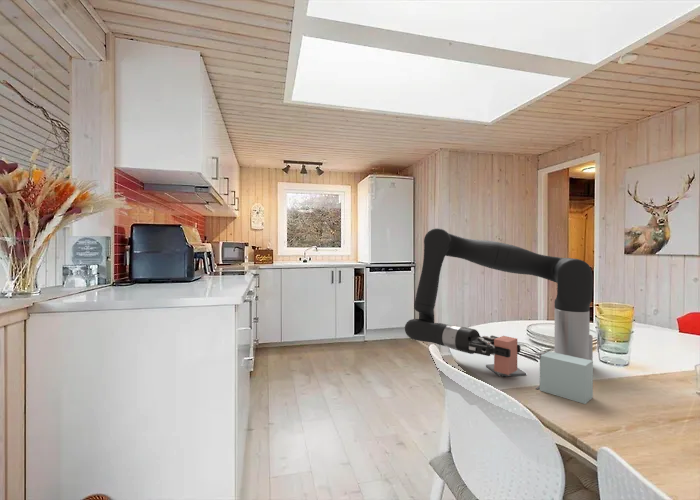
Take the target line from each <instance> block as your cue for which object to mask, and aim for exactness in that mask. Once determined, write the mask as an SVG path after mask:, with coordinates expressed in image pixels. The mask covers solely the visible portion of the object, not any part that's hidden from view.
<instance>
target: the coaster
mask: <svg viewBox="0 0 700 500" xmlns="http://www.w3.org/2000/svg"><path fill="white" fill-rule="evenodd" d="M485 367H486V368H488V369H489V370H490V371H491V372H492V373H494V374H496V375H497V376H498V377H514V376H515V377H516V376H517V377H519V376H523V377H524V376H527V372H525V371H523V370H522V369H520V368H518V367H517V371H515V372H513V373H511V374H509V375H507V374H503V373H500V372H497V371H494V363H493V364H485Z"/></svg>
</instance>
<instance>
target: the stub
mask: <svg viewBox="0 0 700 500" xmlns="http://www.w3.org/2000/svg"><path fill="white" fill-rule="evenodd" d="M498 337H499V338H496V339H494V345H495V346H496V347H497V346H498V347H502V348H506V349H510V351H511V356H510V357H504V356H500V355H493V362H494V363H493V364H494V371H497V372H500V373H503V374H507V375H509V374H511V373H513V372H515V371H517V368H518V353H517V345H518V338H516V337H510V336H506V335H501V336H498Z"/></svg>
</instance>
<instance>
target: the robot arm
mask: <svg viewBox="0 0 700 500" xmlns="http://www.w3.org/2000/svg"><path fill="white" fill-rule="evenodd" d="M445 257H452V258H458V259H461V260H465V261H469V262H470V263H474V264H475V265H478V266H482V267H486V268H488V269H493V270H496V271H501V272H505V273H509V274H510V273H511V274H520V275H529V276H534V277H539V278H542V279H544V280H548V281H551V282H553V283H556V284H557V286H556V287H557V288H556V292H557V293H556V297H555V299H554V346H553V349H554V351H553V352H555V353H559V354H564V355H569V356H573V357H578V358H583V359H587V360H592V361H593V357H594V356H593V348H594V347H593V346H594V345H593V343H594V342H593V335H592V334H590V321H591V320H590V309H591V303H592V300H593V287H594V286H593V283H594V280H593V278H594V277H593V270H592V268H591V266H590V265H589V264H588V262H586V261H585V260H582V259H580V258H571V257H559V256H558V257H557V256H553V255H552V256H551V255H545V254H541V253H537V252H533V251H532V250H528V249H526V248H523V247H519V246H516V245H512V244H510V243H509V244H508V243H505V242H504V243H503V242H499V241H494V240H487V239H472V238H466V237H462V236H458V235H455V234H452V233H449V232H448V231H446V230H445V229H444V228H439V227H437V228H435V227H434V228H432V229H430V230H429V231H427V232H426V234H425V235H424V238H423V259H422V260H423V261H422V267H421V268H422V269H421V273H420V278H419V281H418V286H417V289H416V292H415V293H416V294H415V297H414V298H415V299H414V303H413V304H414V305H413V309H414V311H416V312H418V318H411V319H409V320H408V321H407V322H406V323H405V326H404V331H405V334H406V336H407V337H409V339H411V340H414V341H419V342H427V343H432V344H435V345H439V346H442V347H446V348H450V349H452V350H455V351H459V352H462V353H466V354H470V355H474V354H477V355H483V356H487V357H490V356H494V355H500V356H504V357H510V356H511V351H510V349H506V348H502V347H498V346H497V347H496V346H495V345H494V339H496V338H499V337H500V336H495V335H490V337H489V336H488V335H487V336H486V335H482V336H481V335H480V333H479V331H478V330H477V329H474V328H471V327H465V326H460V325H455V324H454V325H451V324H446V323H441V322H435V305H436V301H437V297H438V290H439V283H440V275H441V274H440V273H441V270H442V266H443V262H444V260H445ZM519 353H521V345H520V344H517V354H519ZM593 362H594V361H593Z"/></svg>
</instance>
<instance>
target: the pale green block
mask: <svg viewBox="0 0 700 500" xmlns="http://www.w3.org/2000/svg"><path fill="white" fill-rule="evenodd" d="M538 358H539V385H538V386H537V387H536V388H535V390H538V391H541V392H543V393H547V394H550V395H554V396H557V397H561V398H564V399H568V400H570V401H573V402H577V403H580V404H584V405H587V404H588V403H589V402H590V400H592V399H593V398H594V390H593V389H594V388H593V387H594V385H593V384H594V380H593V379H594V375H593V374H594V361H592V360H587V359H583V358H578V357H573V356H569V355H564V354H559V353H555V352H554V351H550V350H547V351H545V352H543V353H541V354H539V357H538Z"/></svg>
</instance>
